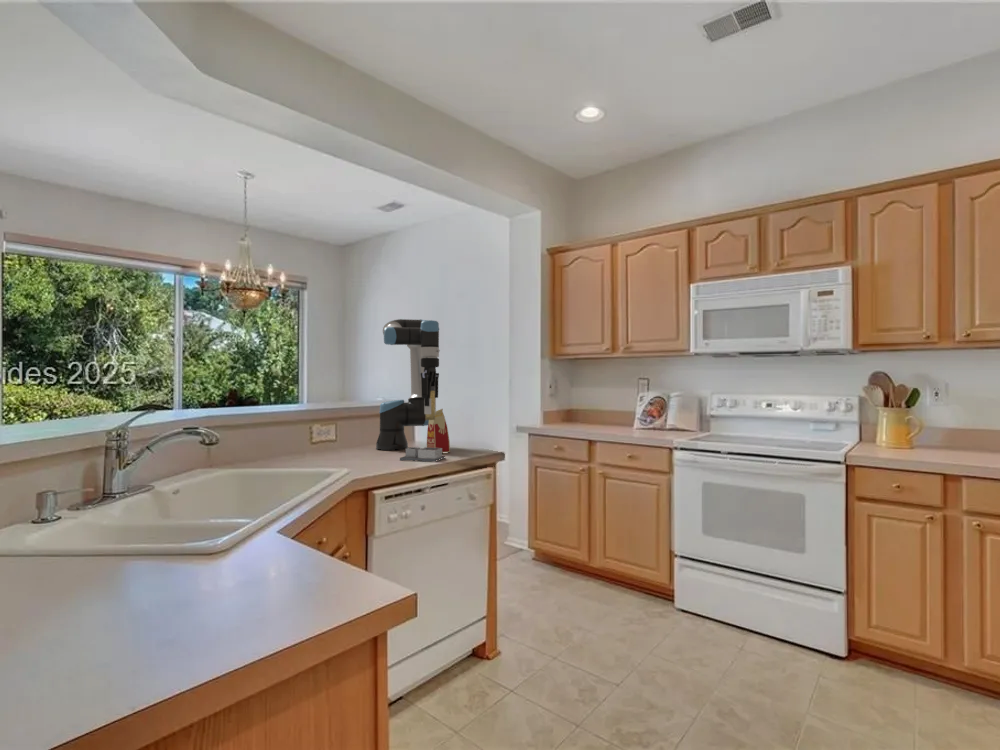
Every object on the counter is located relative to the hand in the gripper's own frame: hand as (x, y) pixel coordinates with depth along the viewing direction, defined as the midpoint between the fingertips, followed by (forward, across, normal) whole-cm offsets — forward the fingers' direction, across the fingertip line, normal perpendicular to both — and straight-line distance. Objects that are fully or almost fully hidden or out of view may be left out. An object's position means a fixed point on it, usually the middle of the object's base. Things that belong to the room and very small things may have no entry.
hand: (430, 413), depth 215 cm
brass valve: (+2, 0, 0) cm, 2 cm away
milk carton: (+19, +20, +6) cm, 28 cm away
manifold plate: (+19, 0, +4) cm, 19 cm away
